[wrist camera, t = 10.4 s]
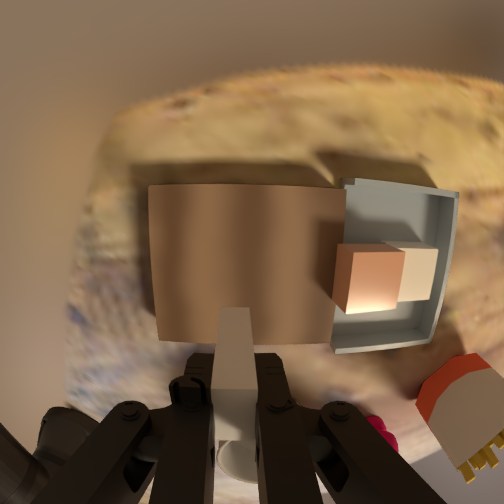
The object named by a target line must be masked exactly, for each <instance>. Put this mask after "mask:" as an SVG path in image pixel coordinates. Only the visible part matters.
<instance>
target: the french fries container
mask: <svg viewBox="0 0 504 504" xmlns="http://www.w3.org/2000/svg"><path fill="white" fill-rule="evenodd" d="M415 405H416V407H417V408H418V410H419V412H420V414H421V416H422V417H423V419H424V420H425V422H426V423H427V425H428V426H429V428H430V430H431V431H432V433H433V434H434V436H435V437H436V439H437V440H438V442H439V443H440V445H441V446H442V448H443V450H444V451H445V453H446V454H447V456H448V457H449V459H450V460H451V462H452V464H453V465H454V467H455V468H456V470H457V471H458V469H459V471H461V472H462V474H463V476H464V478H465V480H466V482H467V484H468V483H469V482H471V481H472V480H474V479H475V475H474V473H473V471H472V470H471V467H470V465H469V464H468V462H467V460H468V461H469V462H470V463H471V464H472V466H473V467H474V468H475V469H476V470H477V469H478V468H479V469H480V470H481V469H482V468H483V467H484V466H485V465H486V462H488V463H489V465H490V467H491V468H494V467H495V466H496V465H497V464H498V463H499V461H498V459H497V457H496V456H495V454H494V453H493V451H492V449H491V448H490V447H492V446H493V444H496V446H497V447H498V448H499V449H500V450H501V449H502V448H503V447H504V378H503V377H502V376H501V375H499V374H498V373H497V372H496V371H495V370H494V369H493V368H492V367H491V366H490V365H489V364H488V363H487V362H485V361H484V360H483V359H482V358H481V357H480V356H479V355H478V354H477V353H472V354H467V355H462V356H456V357H452V358H451V359H450V360H449V361H448V362H447V363H445V364H444V365H443V366H442V367H441V368H440V369H438V370H437V371H436V372H435V373H434V374H432V375H431V376H430V377H429V378H428V379H426V380H425V381H424V382H423V385H422V387H421V390H420V393H419V396H418V398H417V401H416V404H415Z"/></svg>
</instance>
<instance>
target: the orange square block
mask: <svg viewBox="0 0 504 504" xmlns="http://www.w3.org/2000/svg"><path fill="white" fill-rule="evenodd" d="M405 253H406V252H405V251H402V250H400V249H398V248H395V247H393V246H391V245H388V244H338V245H337V256H336V266H335V275H334V284H333V293H332V301H333V302H334V303H335V304H336V305H337V306H338V307H339V308H340V309H341V310H342V311H343V312H344V313H345V314H354V313H364V312H372V311H381V310H389V309H396V305H397V300H398V295H399V290H400V284H401V279H402V273H403V266H404V260H405Z"/></svg>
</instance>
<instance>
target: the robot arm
mask: <svg viewBox="0 0 504 504" xmlns="http://www.w3.org/2000/svg"><path fill="white" fill-rule="evenodd" d="M169 391H170V397H171V402H172V404H171V405H170V406H167V407H164V408H160V409H152V410H149V409H148V408H147V407H146V405H145V404H143V403H141V402H138V401H124V402H122V403H119V404H117V405H116V406H115V407H114V408H113V409H112V410H111V411H110V412H109V413H108V415H107V416H106V417H105V418H104V419H103V420H102V421H101V423H100V424H99V423H97V422H96V421H94V420H92V419H91V418H89V417H87V416H85V415H84V414H82V413H79V412H77V411H75V410H72V409H69V408H65V407H52V408H50V409H49V410H48V411H47V413H46V414H45V416H44V417H43V419H42V422H41V428H40V432H39V438H38V444H37V448H36V450H35V452H34V453H33V455H31V454H30V453H29V452H28V451H27V450H26V449H25V448H24V447H23V446H22V445H21V444H20V443H19V442H18V441H17V440H16V439H15V438H14V437H13V436H12V435H11V434H10V433H9V432H8V431H7V429H6V428H5V427H4V426H3V425H2V424H1V423H0V504H138V503H139V501H140V499H141V498H142V496H143V494H144V493H145V491H146V489H147V487H148V486H149V484H150V482H151V481H152V479H153V477H154V481H153V486H152V490H151V495H150V500H149V504H213V491H214V468H215V440H234V441H242V440H255V439H256V449H255V462H256V465H257V478H258V490H259V502H260V504H323V500H322V496H321V492H320V488H319V485H318V481H317V477H316V473H317V475H318V477H319V478H320V480H321V481H322V483H323V484H324V486H325V488H326V489H327V491H328V492H329V494H330V495H331V497H332V498H333V500H334V501H335V503H336V504H447V503H446V502H445V501H444V500H443V499H442V498H441V497H440V496H439V495H438V494H437V493H436V492H435V491H434V490H433V489H432V488H431V487H430V486H429V485H428V484H427V483H426V482H425V481H424V480H423V479H422V478H421V477H420V475H418V473H417V472H416V471H415V470H414V469H413V468H412V467H411V466H410V465H409V464H408V463H407V462H406V461H405V460H404V459H403V458H402V457H401V456H400V454H399V453H398V452H397V451H396V450H395V449H394V448H393V447H392V446H391V445H390V444H389V443H388V442H387V441H386V440H385V438H384V437H383V436H382V435H381V434H380V433H379V432H378V431H377V430H376V429H375V428H374V427H373V425H372V424H371V423H370V422H369V421H368V420H367V419H366V418H365V417H364V416H363V415H362V413H361V412H360V411H359V410H358V409H357V408H356V407H355V406H353V405H352V404H350V403H347V402H343V401H334V402H330V403H328V404H326V405H324V407H323V408H322V409H321V410H317V409H310V408H305V407H302V406H300V405H298V404H297V403H296V401H295V400H294V399H293V398H292V397H291V395H290V391H289V387H288V383H287V379H286V375H285V371H284V368H283V363H282V359H281V358H280V357H279V356H278V355H277V354H276V353H254V348H253V338H252V329H251V319H250V309H249V307H220V313H219V321H218V329H217V338H216V346H215V354H205V353H194V354H193V355H192V356H190V357H189V358H188V360H187V364H186V368H185V372H184V375H183V376H180V377H177V378H175V379H174V380H172V381H171V383H170V384H169ZM315 472H316V473H315ZM154 475H155V476H154Z"/></svg>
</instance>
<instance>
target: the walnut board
mask: <svg viewBox="0 0 504 504" xmlns="http://www.w3.org/2000/svg"><path fill="white" fill-rule="evenodd" d="M346 195H347V189H339V188H326V187H310V186H291V185H266V184H159V185H148V212H149V239H150V257H151V271H152V283H153V294H154V304H155V313H156V321H157V329H158V337H159V340H161V341H173V342H189V343H208V344H216V338H217V329H218V321H219V313H220V307H249V309H250V319H251V329H252V338H253V345H285V344H317V343H330V340H331V334H332V328H333V322H334V315H335V308H336V304H335V303H334V302H333V301H332V293H333V284H334V275H335V266H336V256H337V245H338V244H343V238H344V226H345V212H346Z"/></svg>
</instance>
